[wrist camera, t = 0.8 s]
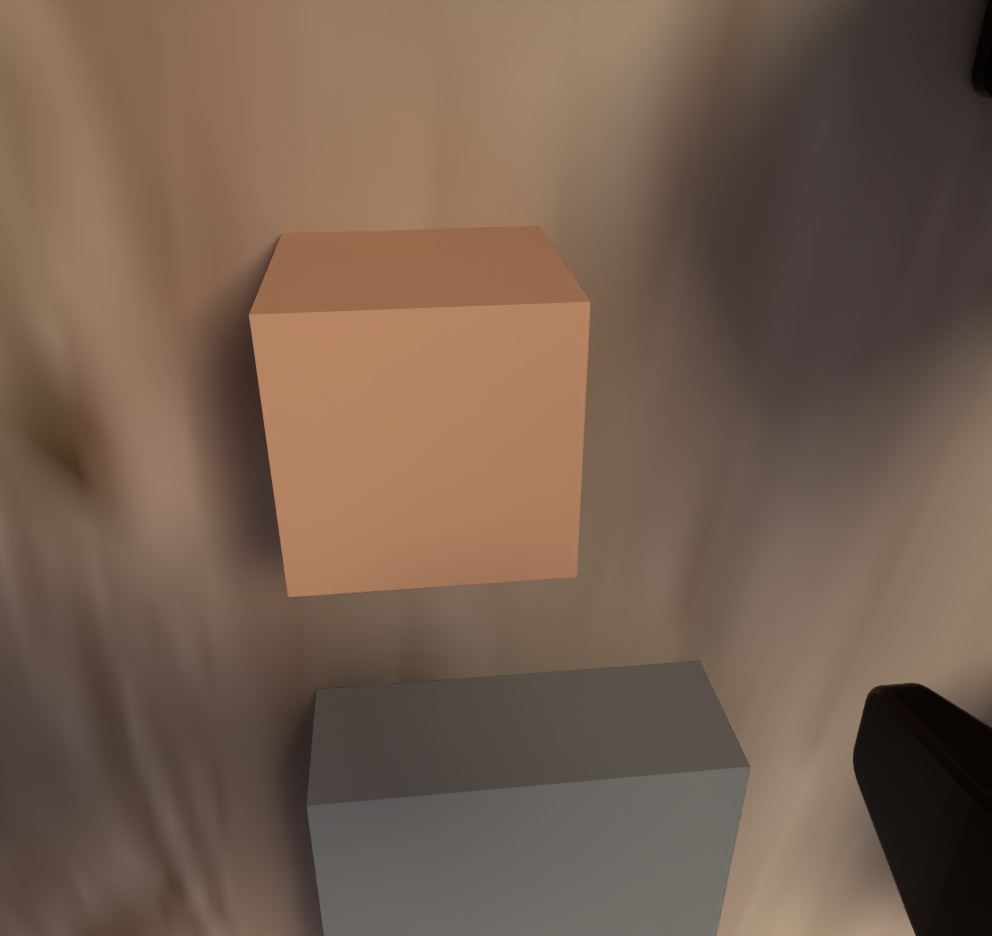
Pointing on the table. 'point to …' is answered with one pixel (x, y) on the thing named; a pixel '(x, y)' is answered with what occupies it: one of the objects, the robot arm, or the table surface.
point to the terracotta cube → (422, 407)
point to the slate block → (525, 804)
